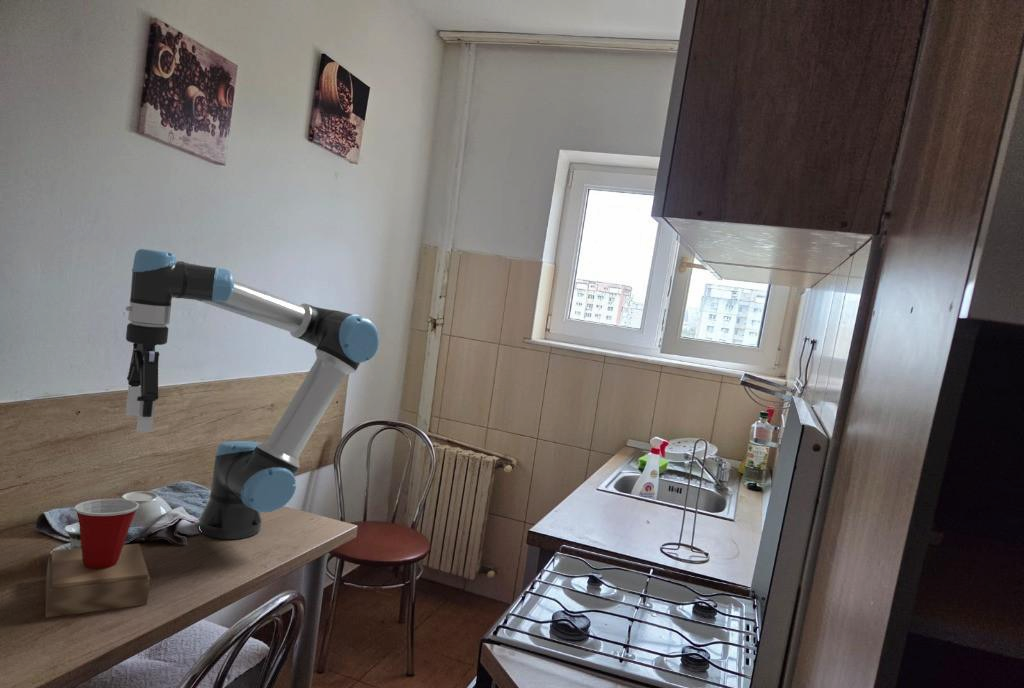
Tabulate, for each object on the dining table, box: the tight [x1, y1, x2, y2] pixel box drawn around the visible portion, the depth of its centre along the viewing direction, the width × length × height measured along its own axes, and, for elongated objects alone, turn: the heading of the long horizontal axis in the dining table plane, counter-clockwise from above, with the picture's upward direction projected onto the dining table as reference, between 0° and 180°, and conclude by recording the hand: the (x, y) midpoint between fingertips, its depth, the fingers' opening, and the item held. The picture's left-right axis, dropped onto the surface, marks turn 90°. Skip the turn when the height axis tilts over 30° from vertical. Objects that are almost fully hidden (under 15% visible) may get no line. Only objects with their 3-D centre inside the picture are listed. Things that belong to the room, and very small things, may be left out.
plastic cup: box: [74, 498, 140, 569], centre depth 124 cm, size 11×11×12 cm
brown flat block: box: [45, 543, 151, 618], centre depth 125 cm, size 16×16×6 cm
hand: (138, 423), depth 133 cm, fingers open, 13 cm apart
